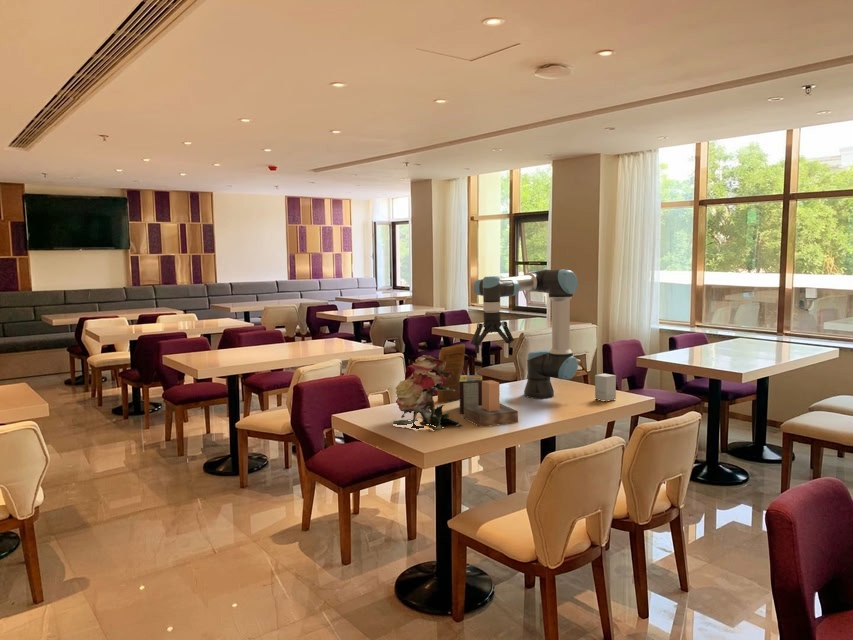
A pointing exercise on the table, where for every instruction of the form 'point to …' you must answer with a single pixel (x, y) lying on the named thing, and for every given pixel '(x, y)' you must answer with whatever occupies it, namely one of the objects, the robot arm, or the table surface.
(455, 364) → the pancake mix bag
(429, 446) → the table surface
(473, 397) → the protein box
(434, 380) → the rose bouquet
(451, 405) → the table surface
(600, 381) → the supplement box
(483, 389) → the carton
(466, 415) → the display podium
